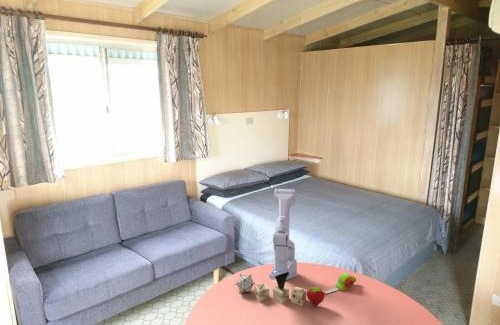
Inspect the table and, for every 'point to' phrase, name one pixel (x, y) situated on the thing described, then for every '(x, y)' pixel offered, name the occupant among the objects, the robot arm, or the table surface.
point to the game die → (245, 283)
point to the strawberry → (315, 296)
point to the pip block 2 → (298, 296)
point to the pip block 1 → (262, 292)
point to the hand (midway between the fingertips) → (281, 287)
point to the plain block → (281, 294)
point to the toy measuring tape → (343, 283)
